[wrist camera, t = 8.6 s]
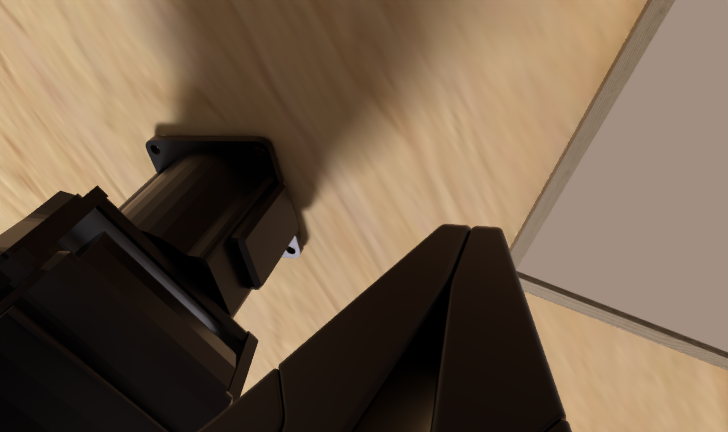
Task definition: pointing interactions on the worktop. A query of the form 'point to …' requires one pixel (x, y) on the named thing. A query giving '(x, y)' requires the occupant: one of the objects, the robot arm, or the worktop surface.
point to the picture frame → (645, 190)
